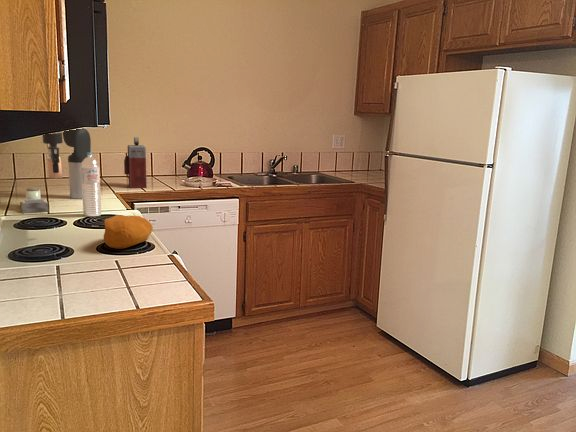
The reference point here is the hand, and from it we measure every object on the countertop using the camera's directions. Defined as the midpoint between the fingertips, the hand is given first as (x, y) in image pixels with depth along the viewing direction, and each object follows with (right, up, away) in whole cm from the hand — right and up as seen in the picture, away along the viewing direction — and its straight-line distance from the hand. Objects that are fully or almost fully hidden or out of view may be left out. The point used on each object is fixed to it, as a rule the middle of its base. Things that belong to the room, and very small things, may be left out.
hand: (55, 171), depth 213 cm
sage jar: (-6, -16, -5) cm, 18 cm away
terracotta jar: (0, -3, +1) cm, 3 cm away
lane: (-8, -16, -3) cm, 18 cm away
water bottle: (+21, -19, -14) cm, 32 cm away
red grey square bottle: (+14, -3, +68) cm, 69 cm away
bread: (+50, -28, -55) cm, 79 cm away
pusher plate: (-5, -17, -8) cm, 19 cm away
